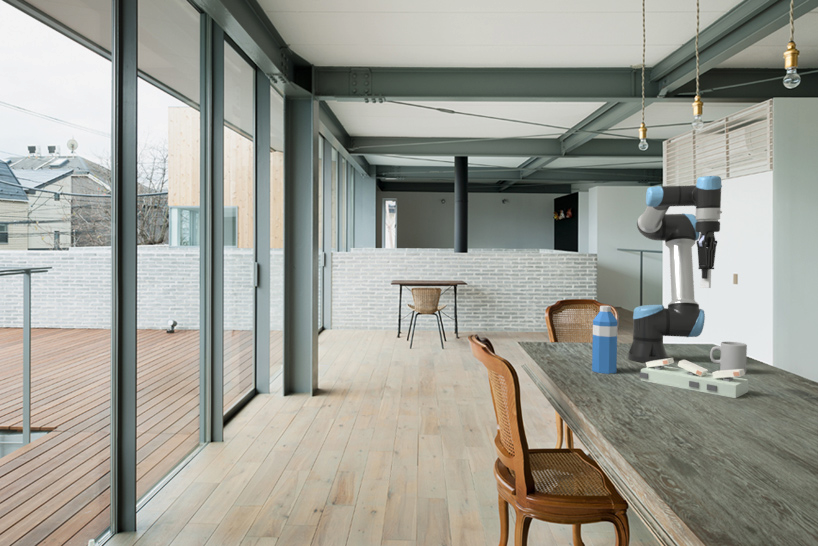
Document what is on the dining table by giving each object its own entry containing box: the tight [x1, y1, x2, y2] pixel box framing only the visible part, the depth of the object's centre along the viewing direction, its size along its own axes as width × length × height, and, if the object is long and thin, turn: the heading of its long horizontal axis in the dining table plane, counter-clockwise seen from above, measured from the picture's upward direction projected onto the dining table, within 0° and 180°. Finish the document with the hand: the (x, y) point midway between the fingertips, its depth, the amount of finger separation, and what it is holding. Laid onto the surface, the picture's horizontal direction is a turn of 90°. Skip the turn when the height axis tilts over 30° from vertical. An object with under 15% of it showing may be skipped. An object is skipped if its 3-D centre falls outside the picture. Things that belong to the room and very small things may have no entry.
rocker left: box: [645, 357, 675, 367], centre depth 186 cm, size 8×4×2 cm, turn 40°
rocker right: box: [711, 369, 746, 378], centre depth 169 cm, size 8×5×2 cm, turn 40°
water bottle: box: [591, 305, 618, 375], centre depth 199 cm, size 9×9×25 cm
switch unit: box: [639, 365, 749, 399], centre depth 177 cm, size 30×12×5 cm, turn 41°
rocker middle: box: [677, 359, 709, 376], centre depth 177 cm, size 8×5×2 cm, turn 41°
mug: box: [709, 341, 748, 375], centre depth 199 cm, size 12×8×11 cm
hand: (705, 287), depth 183 cm, fingers closed
